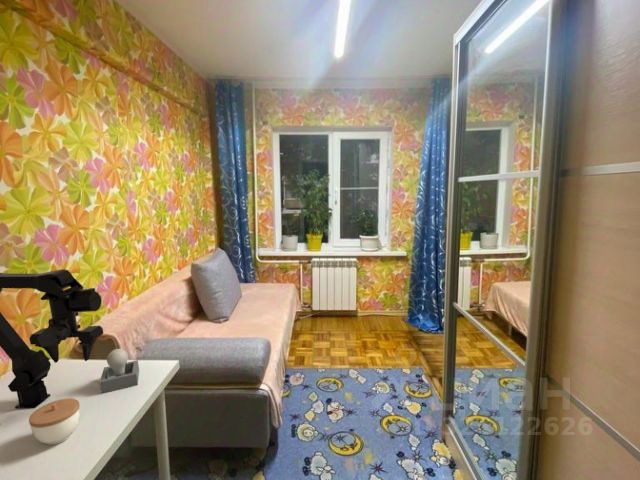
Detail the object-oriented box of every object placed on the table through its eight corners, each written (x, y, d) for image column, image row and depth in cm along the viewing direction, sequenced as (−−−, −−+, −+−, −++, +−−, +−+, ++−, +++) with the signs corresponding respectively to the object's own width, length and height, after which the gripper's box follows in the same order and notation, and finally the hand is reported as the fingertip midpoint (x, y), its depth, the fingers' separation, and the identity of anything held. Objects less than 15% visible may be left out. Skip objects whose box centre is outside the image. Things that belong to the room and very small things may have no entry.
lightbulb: (127, 383, 118) (123, 352, 117) (107, 386, 117) (102, 355, 116) (133, 374, 124) (129, 344, 123) (114, 377, 123) (109, 346, 121)
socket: (101, 393, 115) (99, 382, 114) (105, 378, 124) (104, 367, 124) (137, 385, 119) (136, 373, 118) (139, 370, 128) (137, 360, 128)
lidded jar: (41, 430, 98) (34, 399, 97) (86, 418, 103) (81, 388, 101) (28, 457, 89) (21, 422, 87) (79, 443, 93) (73, 410, 91)
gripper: (9, 324, 99) (19, 377, 102) (76, 321, 99) (85, 373, 102) (39, 310, 110) (48, 357, 113) (100, 307, 110) (108, 354, 113)
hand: (71, 361), depth 110 cm, fingers open, 9 cm apart
